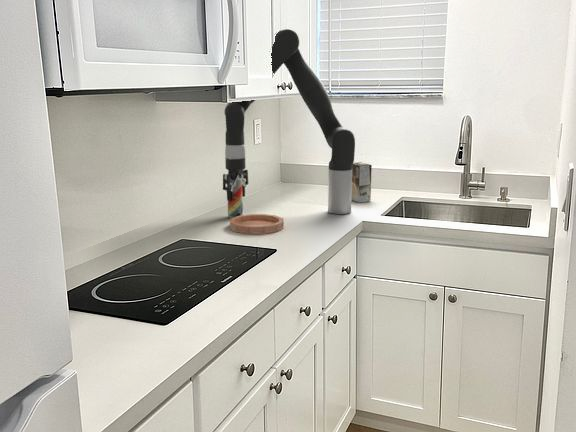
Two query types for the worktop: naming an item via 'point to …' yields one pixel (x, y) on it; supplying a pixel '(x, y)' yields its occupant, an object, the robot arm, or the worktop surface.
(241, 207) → the lotion bottle
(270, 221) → the round tray
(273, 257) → the worktop surface
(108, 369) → the worktop surface
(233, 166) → the robot arm
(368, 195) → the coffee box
